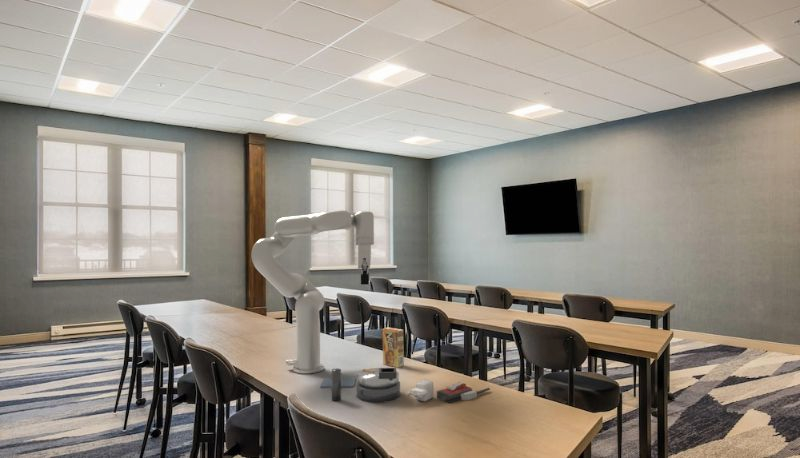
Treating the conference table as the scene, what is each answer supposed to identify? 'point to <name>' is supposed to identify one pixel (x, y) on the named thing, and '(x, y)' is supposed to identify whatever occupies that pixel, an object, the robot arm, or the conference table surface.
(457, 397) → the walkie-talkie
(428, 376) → the conference table surface
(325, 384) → the key mat
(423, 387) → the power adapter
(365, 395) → the base
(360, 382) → the collar
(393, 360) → the candy box
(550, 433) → the conference table surface
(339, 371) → the chuck key
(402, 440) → the conference table surface
